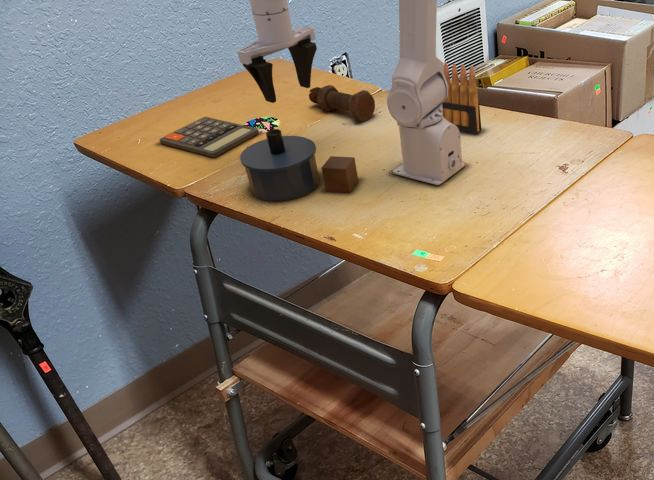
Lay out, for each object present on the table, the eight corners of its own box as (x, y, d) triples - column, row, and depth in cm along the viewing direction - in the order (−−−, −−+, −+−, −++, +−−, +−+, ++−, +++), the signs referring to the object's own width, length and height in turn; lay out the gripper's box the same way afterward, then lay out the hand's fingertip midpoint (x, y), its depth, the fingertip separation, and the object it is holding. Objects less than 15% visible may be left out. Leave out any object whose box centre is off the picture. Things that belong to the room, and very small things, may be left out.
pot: (333, 177, 119) (327, 147, 116) (286, 207, 112) (278, 176, 109) (285, 164, 124) (278, 134, 121) (237, 191, 117) (229, 161, 114)
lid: (332, 150, 116) (327, 124, 113) (279, 181, 109) (273, 154, 106) (279, 136, 122) (273, 111, 119) (225, 165, 114) (218, 139, 111)
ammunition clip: (481, 130, 129) (479, 64, 122) (477, 134, 128) (473, 67, 121) (431, 122, 134) (426, 57, 126) (426, 126, 133) (420, 61, 125)
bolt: (320, 111, 146) (371, 124, 138) (301, 106, 142) (353, 119, 134) (325, 82, 145) (377, 94, 137) (307, 77, 141) (359, 88, 133)
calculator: (204, 115, 141) (258, 128, 135) (205, 120, 142) (259, 132, 135) (158, 138, 134) (212, 152, 127) (159, 143, 135) (214, 157, 128)
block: (358, 180, 117) (354, 157, 115) (349, 192, 114) (345, 169, 112) (335, 179, 118) (330, 155, 116) (325, 191, 115) (320, 167, 113)
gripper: (289, -4, 120) (305, 76, 128) (218, 19, 112) (240, 103, 120) (316, 1, 116) (331, 83, 125) (245, 25, 108) (266, 111, 117)
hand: (288, 93), depth 122 cm, fingers open, 7 cm apart
